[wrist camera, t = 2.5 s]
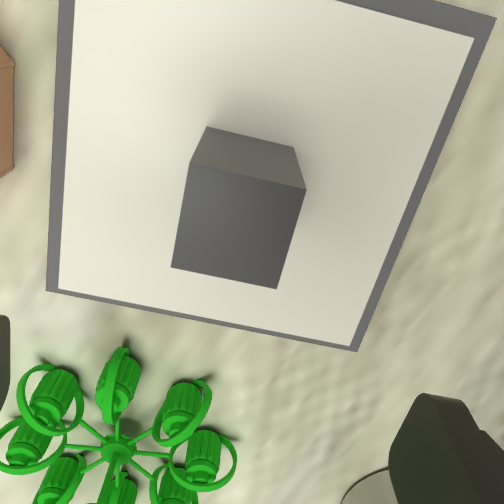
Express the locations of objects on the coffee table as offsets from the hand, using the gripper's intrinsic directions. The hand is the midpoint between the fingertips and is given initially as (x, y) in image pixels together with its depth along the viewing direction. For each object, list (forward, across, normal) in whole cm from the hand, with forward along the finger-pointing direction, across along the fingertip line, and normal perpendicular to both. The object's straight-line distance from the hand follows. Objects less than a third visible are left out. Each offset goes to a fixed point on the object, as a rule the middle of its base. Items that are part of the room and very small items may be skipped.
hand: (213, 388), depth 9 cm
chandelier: (+16, +3, +19) cm, 25 cm away
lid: (+15, 0, 0) cm, 15 cm away
